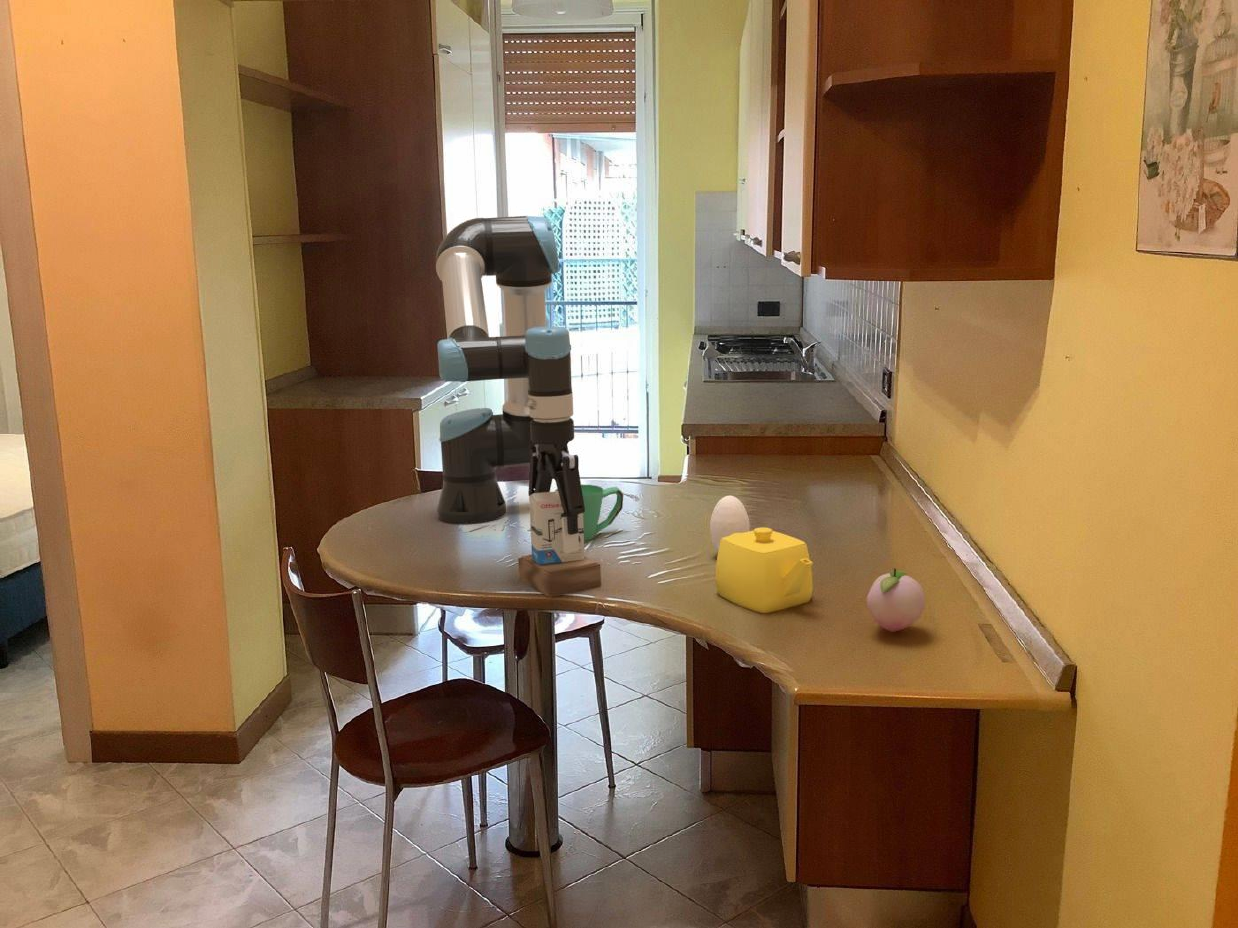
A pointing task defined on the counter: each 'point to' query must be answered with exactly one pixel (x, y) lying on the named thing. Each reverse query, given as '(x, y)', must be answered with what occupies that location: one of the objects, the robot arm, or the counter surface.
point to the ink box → (551, 530)
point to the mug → (598, 508)
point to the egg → (728, 519)
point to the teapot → (764, 570)
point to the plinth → (560, 575)
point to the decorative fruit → (896, 600)
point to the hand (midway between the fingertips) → (557, 544)
